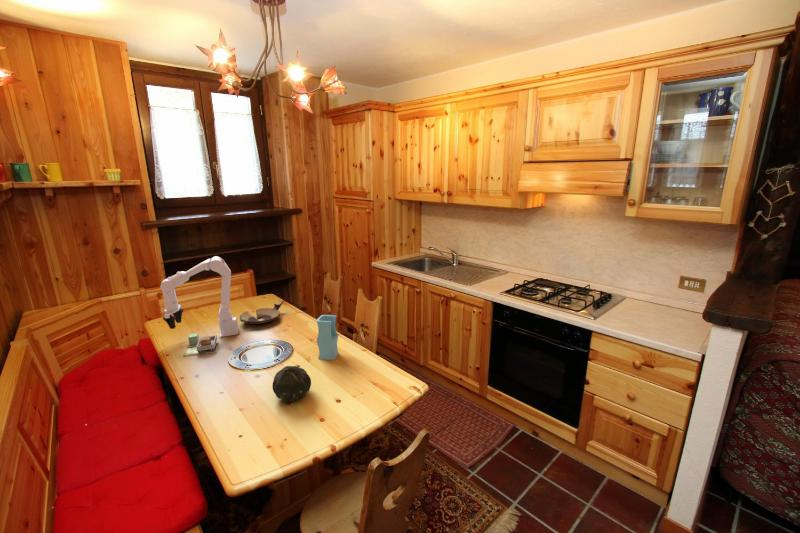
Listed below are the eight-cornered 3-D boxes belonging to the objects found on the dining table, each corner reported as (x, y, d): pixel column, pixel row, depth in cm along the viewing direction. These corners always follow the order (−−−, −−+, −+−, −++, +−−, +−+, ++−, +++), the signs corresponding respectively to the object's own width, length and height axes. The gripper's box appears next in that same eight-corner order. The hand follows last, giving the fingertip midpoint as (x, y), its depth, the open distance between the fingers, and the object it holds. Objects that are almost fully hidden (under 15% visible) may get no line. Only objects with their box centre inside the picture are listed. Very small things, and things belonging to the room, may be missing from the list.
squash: (301, 367, 159) (279, 354, 148) (323, 381, 150) (301, 367, 139) (281, 398, 154) (257, 386, 143) (303, 413, 145) (279, 402, 134)
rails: (218, 342, 195) (218, 342, 195) (216, 351, 186) (216, 350, 186) (187, 347, 190) (187, 347, 190) (183, 356, 181) (183, 356, 181)
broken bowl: (234, 321, 222) (232, 309, 220) (281, 308, 241) (280, 298, 239) (246, 333, 206) (244, 321, 204) (296, 319, 224) (295, 307, 222)
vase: (333, 360, 175) (330, 322, 170) (318, 359, 177) (315, 321, 172) (339, 352, 183) (336, 315, 177) (324, 351, 184) (321, 314, 179)
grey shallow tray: (217, 341, 195) (216, 335, 194) (214, 350, 185) (213, 344, 184) (201, 344, 192) (199, 337, 191) (197, 353, 182) (196, 347, 181)
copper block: (211, 343, 188) (210, 335, 187) (210, 347, 185) (208, 339, 183) (202, 345, 187) (201, 337, 186) (201, 348, 183) (200, 340, 182)
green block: (199, 340, 198) (197, 333, 197) (197, 344, 194) (196, 336, 193) (190, 341, 197) (189, 334, 195) (189, 345, 193) (188, 337, 192)
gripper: (169, 297, 196) (173, 320, 200) (156, 307, 183) (161, 332, 186) (183, 296, 197) (187, 319, 201) (171, 306, 184) (176, 330, 187)
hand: (175, 325), depth 194 cm, fingers open, 7 cm apart
